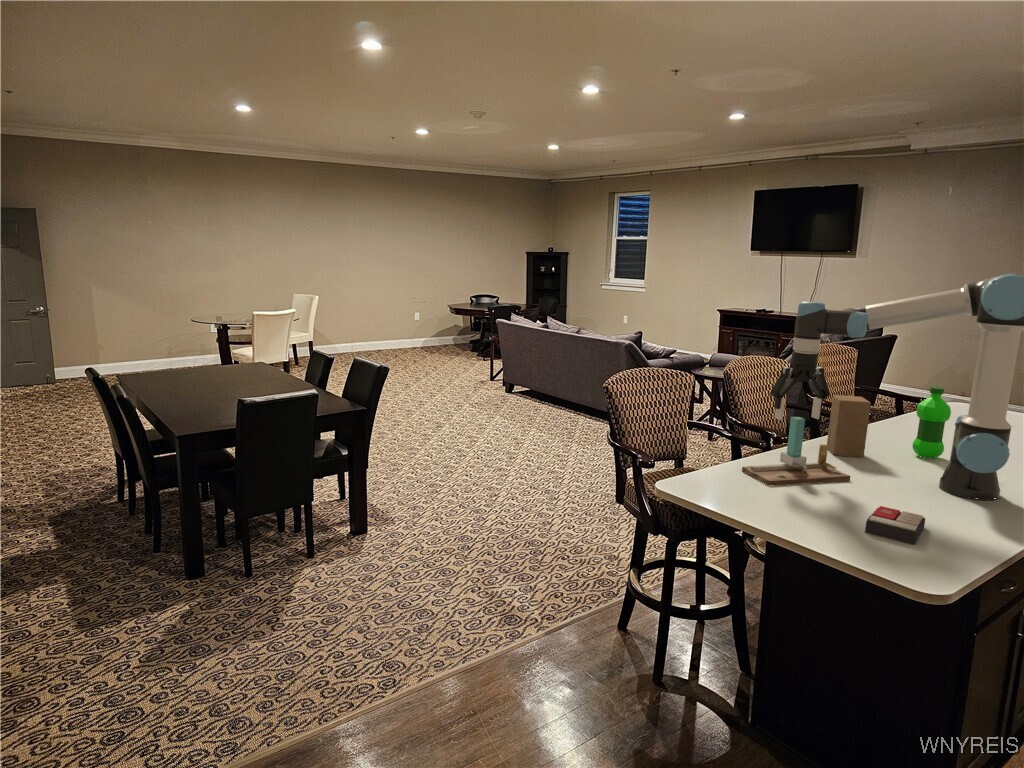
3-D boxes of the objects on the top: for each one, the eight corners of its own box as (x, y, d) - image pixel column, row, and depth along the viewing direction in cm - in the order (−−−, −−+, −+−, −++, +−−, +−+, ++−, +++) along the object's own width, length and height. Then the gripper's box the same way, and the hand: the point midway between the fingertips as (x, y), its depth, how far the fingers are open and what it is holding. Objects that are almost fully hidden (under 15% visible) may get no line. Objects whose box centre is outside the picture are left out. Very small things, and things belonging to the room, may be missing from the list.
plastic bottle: (950, 459, 234) (961, 390, 229) (929, 462, 230) (940, 391, 225) (923, 451, 243) (934, 384, 238) (903, 454, 239) (913, 385, 234)
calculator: (926, 514, 171) (917, 529, 159) (923, 530, 171) (914, 546, 160) (878, 504, 178) (866, 517, 166) (876, 519, 178) (864, 533, 166)
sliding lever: (812, 472, 207) (818, 422, 204) (798, 473, 206) (804, 423, 203) (792, 463, 216) (798, 415, 213) (779, 464, 215) (785, 416, 212)
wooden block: (863, 458, 232) (871, 402, 229) (833, 455, 234) (840, 400, 231) (855, 450, 242) (862, 396, 238) (825, 448, 244) (832, 394, 240)
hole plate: (849, 480, 207) (853, 453, 205) (769, 485, 200) (772, 457, 198) (818, 466, 220) (821, 441, 219) (741, 471, 213) (744, 445, 211)
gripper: (830, 350, 213) (822, 414, 217) (763, 349, 206) (755, 416, 210) (848, 353, 205) (838, 420, 210) (778, 353, 199) (770, 422, 203)
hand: (796, 418), depth 210 cm, fingers open, 13 cm apart
